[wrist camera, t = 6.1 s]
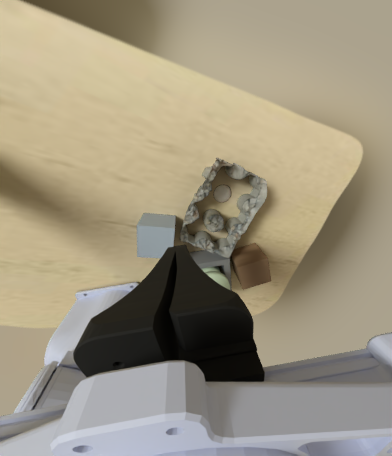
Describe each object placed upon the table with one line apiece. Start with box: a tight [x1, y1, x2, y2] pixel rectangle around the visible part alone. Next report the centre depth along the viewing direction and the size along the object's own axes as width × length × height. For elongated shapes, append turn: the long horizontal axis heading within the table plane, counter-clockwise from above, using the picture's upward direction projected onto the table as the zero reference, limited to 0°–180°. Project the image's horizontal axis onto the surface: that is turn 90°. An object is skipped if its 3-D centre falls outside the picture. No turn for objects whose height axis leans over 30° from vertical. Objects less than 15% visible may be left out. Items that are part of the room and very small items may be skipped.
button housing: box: [189, 250, 232, 291], centre depth 24 cm, size 6×6×3 cm
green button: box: [202, 266, 230, 290], centre depth 23 cm, size 5×5×4 cm
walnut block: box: [230, 243, 271, 289], centre depth 24 cm, size 4×4×4 cm
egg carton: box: [180, 158, 267, 258], centre depth 20 cm, size 11×8×4 cm
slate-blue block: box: [137, 213, 176, 258], centre depth 21 cm, size 4×4×4 cm
